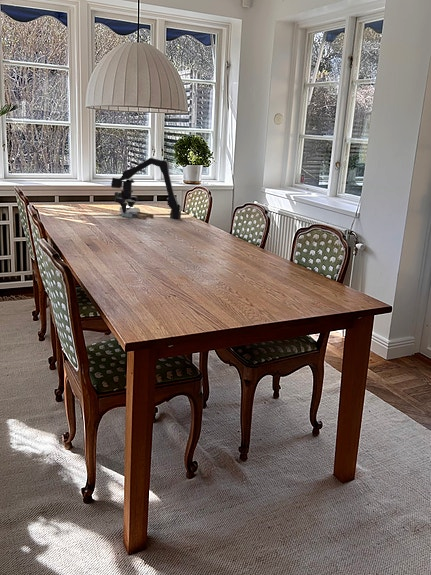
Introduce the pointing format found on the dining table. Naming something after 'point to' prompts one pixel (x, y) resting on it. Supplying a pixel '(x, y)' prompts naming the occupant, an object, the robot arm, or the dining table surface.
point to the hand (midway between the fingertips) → (126, 212)
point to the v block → (129, 215)
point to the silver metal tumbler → (130, 210)
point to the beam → (144, 215)
